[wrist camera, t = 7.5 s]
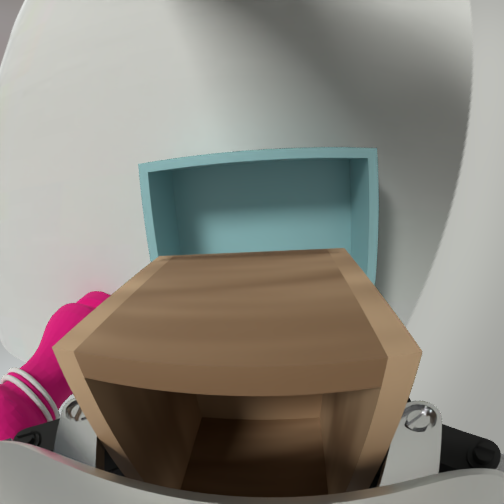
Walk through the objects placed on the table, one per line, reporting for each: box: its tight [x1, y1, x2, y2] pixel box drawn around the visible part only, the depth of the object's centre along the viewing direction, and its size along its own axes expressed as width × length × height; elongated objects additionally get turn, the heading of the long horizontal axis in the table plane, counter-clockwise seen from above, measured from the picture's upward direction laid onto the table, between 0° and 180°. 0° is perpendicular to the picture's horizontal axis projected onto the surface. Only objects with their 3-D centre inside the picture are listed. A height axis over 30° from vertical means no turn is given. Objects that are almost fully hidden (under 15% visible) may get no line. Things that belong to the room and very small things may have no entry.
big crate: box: [138, 147, 379, 286], centre depth 20 cm, size 15×14×5 cm
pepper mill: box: [0, 291, 111, 441], centre depth 16 cm, size 7×7×20 cm
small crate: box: [52, 248, 422, 497], centre depth 8 cm, size 8×6×6 cm
